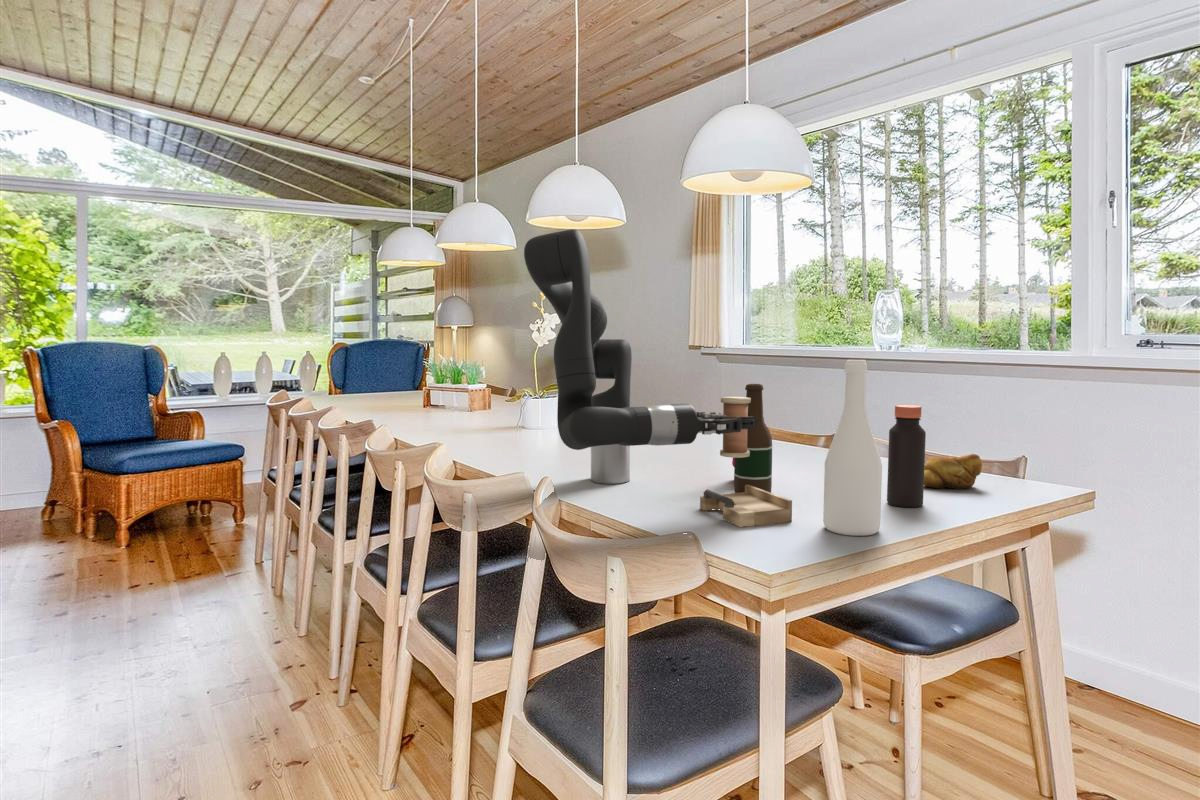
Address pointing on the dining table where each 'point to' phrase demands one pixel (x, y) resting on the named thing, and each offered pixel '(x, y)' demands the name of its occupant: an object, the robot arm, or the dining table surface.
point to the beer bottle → (755, 448)
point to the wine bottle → (853, 465)
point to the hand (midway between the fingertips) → (747, 420)
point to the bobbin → (737, 440)
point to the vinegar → (906, 458)
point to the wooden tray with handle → (749, 506)
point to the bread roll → (952, 471)
